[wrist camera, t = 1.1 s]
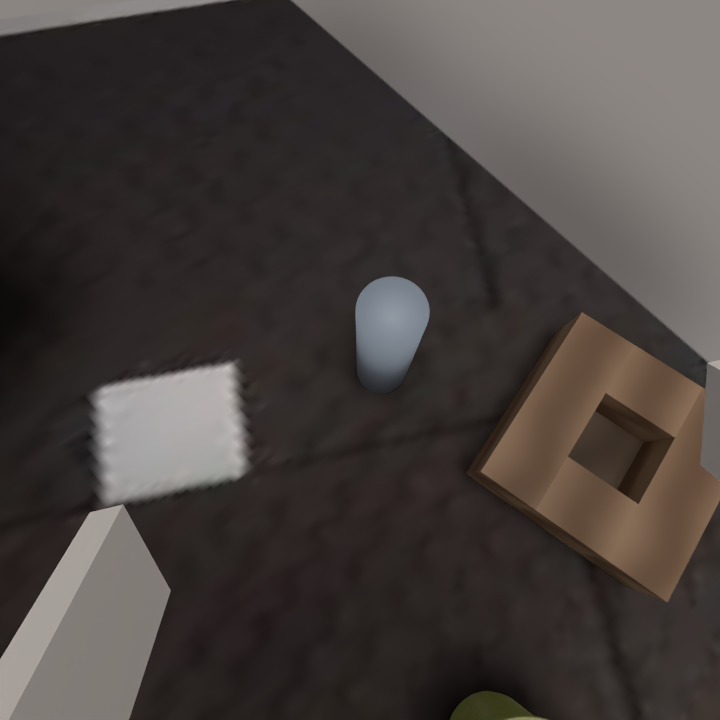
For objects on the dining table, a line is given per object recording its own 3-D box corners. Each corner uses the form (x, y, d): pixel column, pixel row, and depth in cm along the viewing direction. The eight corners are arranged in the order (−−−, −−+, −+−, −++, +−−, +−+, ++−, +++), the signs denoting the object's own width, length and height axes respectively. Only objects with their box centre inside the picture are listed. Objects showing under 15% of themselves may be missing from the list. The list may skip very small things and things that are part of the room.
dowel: (347, 375, 40) (340, 319, 27) (375, 336, 41) (383, 263, 27) (387, 403, 40) (402, 360, 26) (415, 364, 40) (443, 302, 27)
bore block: (465, 473, 38) (480, 471, 33) (555, 332, 41) (581, 312, 36) (626, 586, 36) (667, 602, 31) (709, 430, 39) (759, 423, 34)
